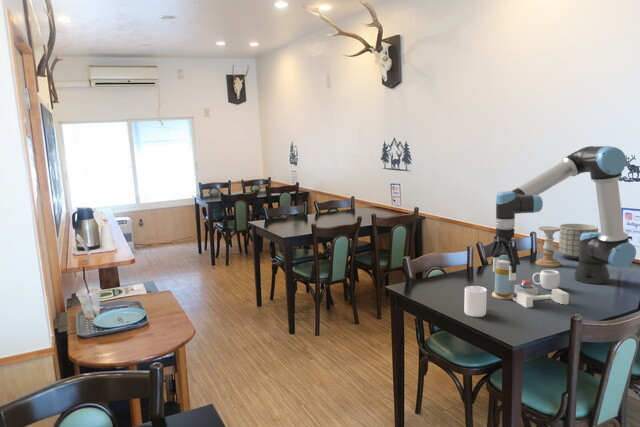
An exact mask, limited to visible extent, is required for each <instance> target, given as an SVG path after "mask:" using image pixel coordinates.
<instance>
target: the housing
mask: <svg viewBox="0 0 640 427" xmlns="http://www.w3.org/2000/svg"><path fill="white" fill-rule="evenodd" d="M513 294H516V296H514V297H513V298H512V301H514V302H516V303H517V304H519V305H521V306H522V307H524V308H528V309H529V308H534V301H539V300H550V299H551V301H554V302H556V303H558V304H559V303H560V305H561V304H564V305H569V298H570V293H568V292H567V291H564V290H562V289H560V288H557V289H552V290H551V294H540V295H539V288H538V287H535V285H533V284H531V288H528V289H524V288H522V287H521V284H514V292H513Z"/></svg>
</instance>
